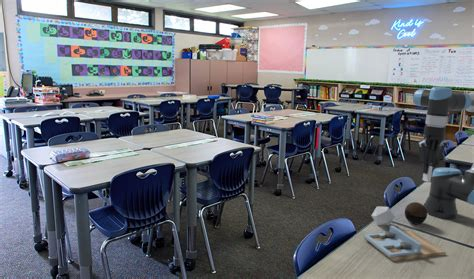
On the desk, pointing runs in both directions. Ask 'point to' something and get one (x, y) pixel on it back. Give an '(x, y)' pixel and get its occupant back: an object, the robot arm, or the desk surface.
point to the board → (425, 246)
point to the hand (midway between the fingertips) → (426, 180)
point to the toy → (415, 213)
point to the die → (382, 216)
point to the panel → (395, 243)
